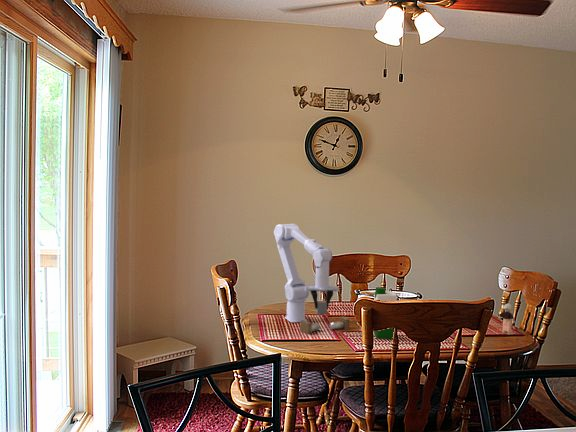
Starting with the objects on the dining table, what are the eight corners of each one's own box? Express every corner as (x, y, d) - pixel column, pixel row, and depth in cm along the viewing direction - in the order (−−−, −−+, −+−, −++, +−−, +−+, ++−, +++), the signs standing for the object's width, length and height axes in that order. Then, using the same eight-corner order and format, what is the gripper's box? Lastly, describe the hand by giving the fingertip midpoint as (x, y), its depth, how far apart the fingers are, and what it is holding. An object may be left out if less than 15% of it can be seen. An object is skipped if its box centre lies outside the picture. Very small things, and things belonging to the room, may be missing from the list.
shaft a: (332, 330, 245) (333, 320, 244) (328, 327, 249) (328, 317, 249) (349, 329, 247) (349, 319, 247) (344, 326, 252) (344, 316, 252)
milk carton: (371, 333, 242) (373, 285, 240) (393, 333, 242) (394, 286, 241) (374, 339, 233) (376, 290, 232) (397, 339, 233) (399, 290, 232)
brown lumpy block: (313, 328, 247) (313, 318, 247) (321, 331, 243) (321, 321, 243) (300, 331, 242) (300, 321, 242) (307, 334, 238) (308, 323, 238)
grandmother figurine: (517, 334, 246) (518, 304, 245) (513, 335, 243) (514, 305, 242) (499, 330, 251) (500, 301, 251) (495, 331, 249) (496, 302, 248)
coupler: (315, 312, 251) (316, 300, 250) (325, 312, 251) (325, 300, 251) (317, 314, 247) (317, 302, 247) (326, 314, 247) (327, 302, 247)
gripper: (306, 278, 244) (305, 310, 244) (340, 278, 245) (339, 310, 246) (304, 275, 251) (303, 306, 251) (337, 275, 252) (336, 306, 253)
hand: (321, 308), depth 249 cm, fingers closed on coupler, 4 cm apart
